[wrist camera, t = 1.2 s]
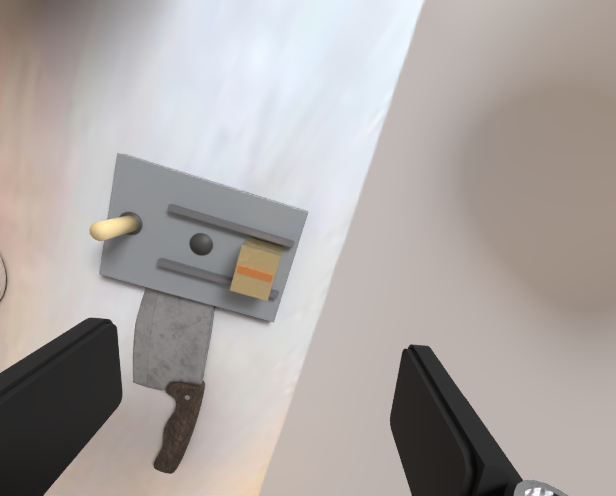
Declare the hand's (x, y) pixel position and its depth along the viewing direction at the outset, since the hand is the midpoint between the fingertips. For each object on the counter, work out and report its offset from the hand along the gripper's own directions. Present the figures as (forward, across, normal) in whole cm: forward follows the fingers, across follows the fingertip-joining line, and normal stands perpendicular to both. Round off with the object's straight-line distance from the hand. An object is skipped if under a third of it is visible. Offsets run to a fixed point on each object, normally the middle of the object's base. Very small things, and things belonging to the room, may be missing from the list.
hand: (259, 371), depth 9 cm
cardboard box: (+23, +4, +4) cm, 24 cm away
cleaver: (+25, +15, +21) cm, 36 cm away
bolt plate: (+25, +11, +2) cm, 27 cm away
